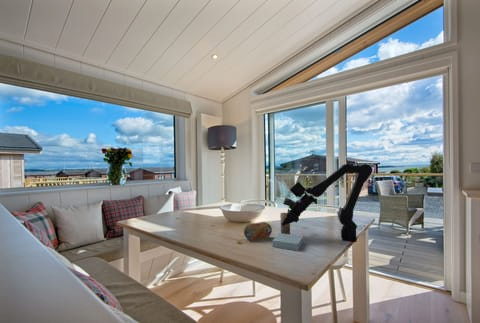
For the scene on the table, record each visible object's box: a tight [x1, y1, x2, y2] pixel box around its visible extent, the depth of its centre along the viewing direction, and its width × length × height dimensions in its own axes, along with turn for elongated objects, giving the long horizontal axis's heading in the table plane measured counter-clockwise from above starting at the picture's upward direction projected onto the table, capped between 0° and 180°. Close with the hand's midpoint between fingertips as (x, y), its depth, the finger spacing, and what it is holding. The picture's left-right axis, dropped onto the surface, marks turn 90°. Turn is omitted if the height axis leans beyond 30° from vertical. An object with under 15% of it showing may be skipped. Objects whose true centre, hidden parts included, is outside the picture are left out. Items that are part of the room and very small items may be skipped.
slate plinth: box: [272, 232, 305, 251], centre depth 113 cm, size 12×12×3 cm
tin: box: [243, 221, 273, 241], centre depth 122 cm, size 15×3×8 cm, turn 105°
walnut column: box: [280, 212, 291, 234], centre depth 125 cm, size 5×5×12 cm
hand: (282, 223), depth 126 cm, fingers closed on walnut column, 5 cm apart
